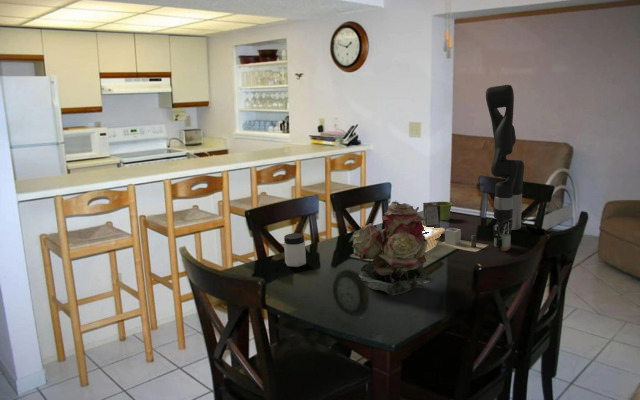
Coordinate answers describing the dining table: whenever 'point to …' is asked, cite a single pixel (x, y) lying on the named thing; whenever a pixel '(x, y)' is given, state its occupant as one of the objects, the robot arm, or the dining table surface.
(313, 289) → the dining table surface
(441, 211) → the plant pot
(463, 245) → the pin board
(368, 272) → the rose bouquet
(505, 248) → the sage sleeve
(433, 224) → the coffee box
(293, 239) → the jar
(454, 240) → the grey sleeve
